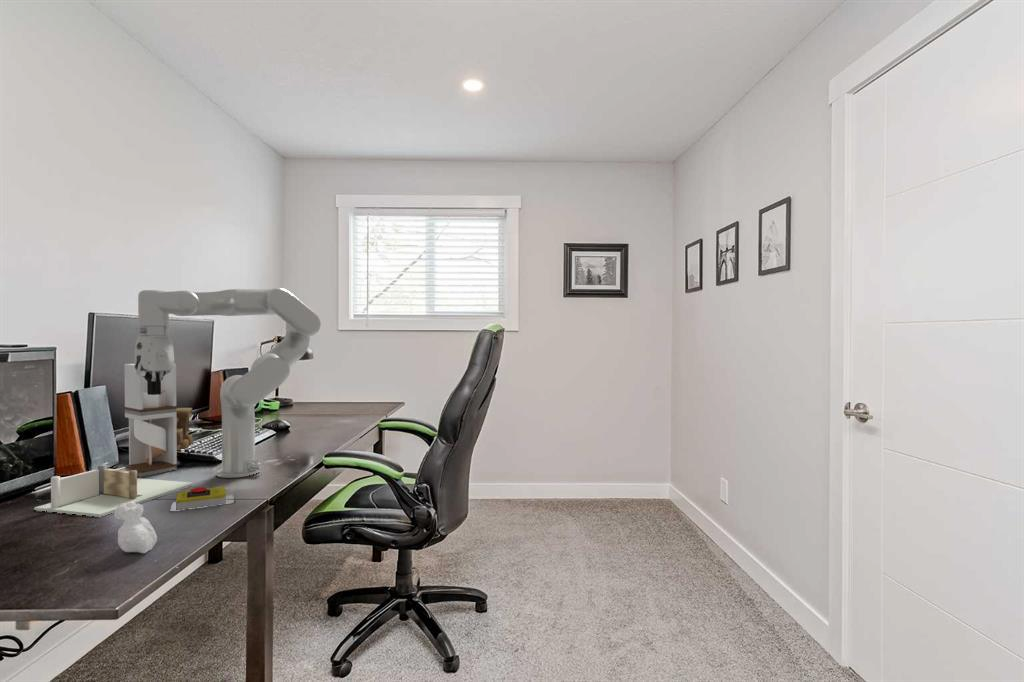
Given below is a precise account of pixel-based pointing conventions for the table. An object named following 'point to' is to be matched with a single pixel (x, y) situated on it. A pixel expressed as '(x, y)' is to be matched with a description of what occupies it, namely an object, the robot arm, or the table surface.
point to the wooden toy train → (183, 428)
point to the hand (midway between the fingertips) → (154, 394)
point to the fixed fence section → (77, 487)
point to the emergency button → (200, 497)
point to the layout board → (117, 498)
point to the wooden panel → (120, 483)
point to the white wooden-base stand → (151, 424)
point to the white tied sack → (134, 529)
